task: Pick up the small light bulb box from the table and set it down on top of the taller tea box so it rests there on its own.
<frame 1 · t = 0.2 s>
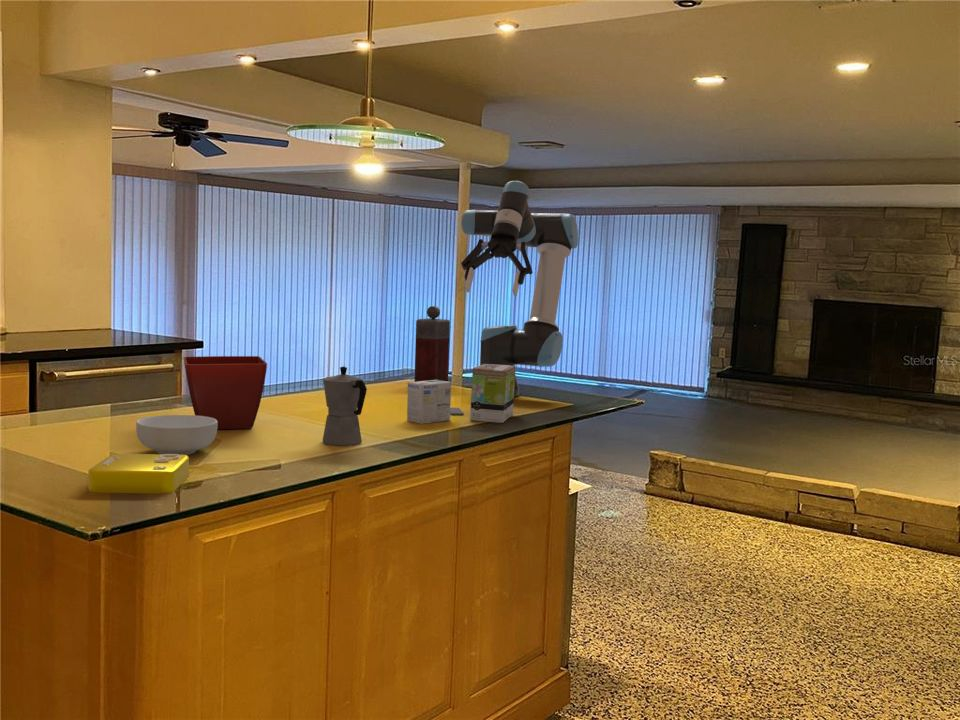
hand: (490, 291, 241), 36 cm above the table, tool tilted 35°, fingers open, 13 cm apart
coffeepot: (344, 444, 207), on the table
tea box: (492, 418, 249), on the table
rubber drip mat: (437, 411, 255), on the table
light bulb box: (428, 421, 241), on the table
plant pot: (224, 426, 223), on the table
cereal bowl: (177, 453, 191), on the table
element tile: (140, 486, 164), on the table
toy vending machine: (432, 385, 313), on the table
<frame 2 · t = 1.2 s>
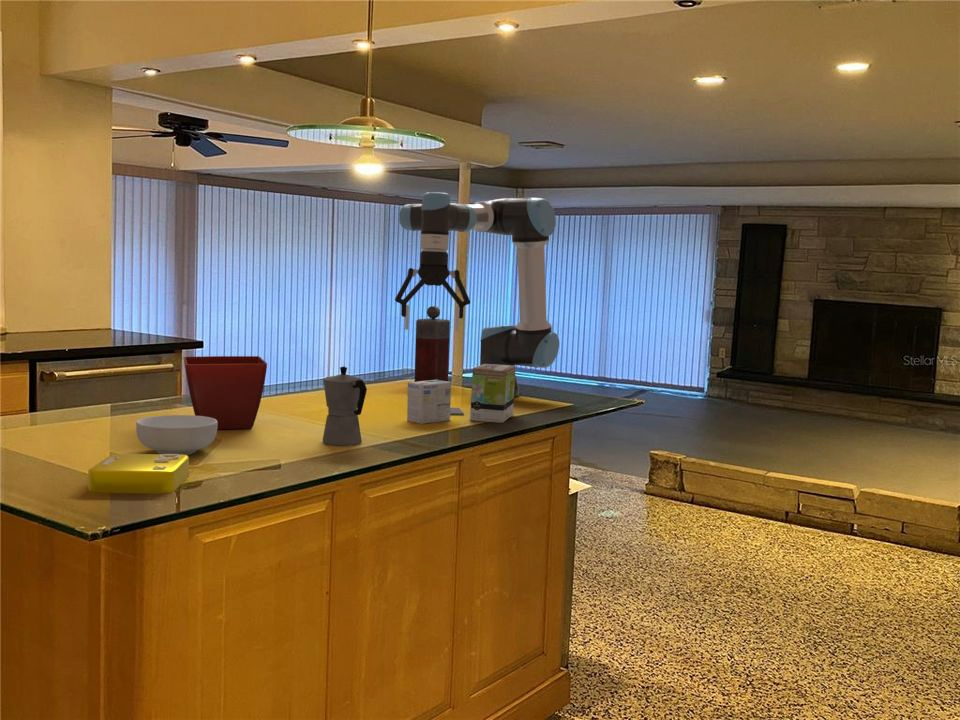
hand: (431, 330, 238), 25 cm above the table, tool pointing down, fingers open, 13 cm apart
nothing on the table moved.
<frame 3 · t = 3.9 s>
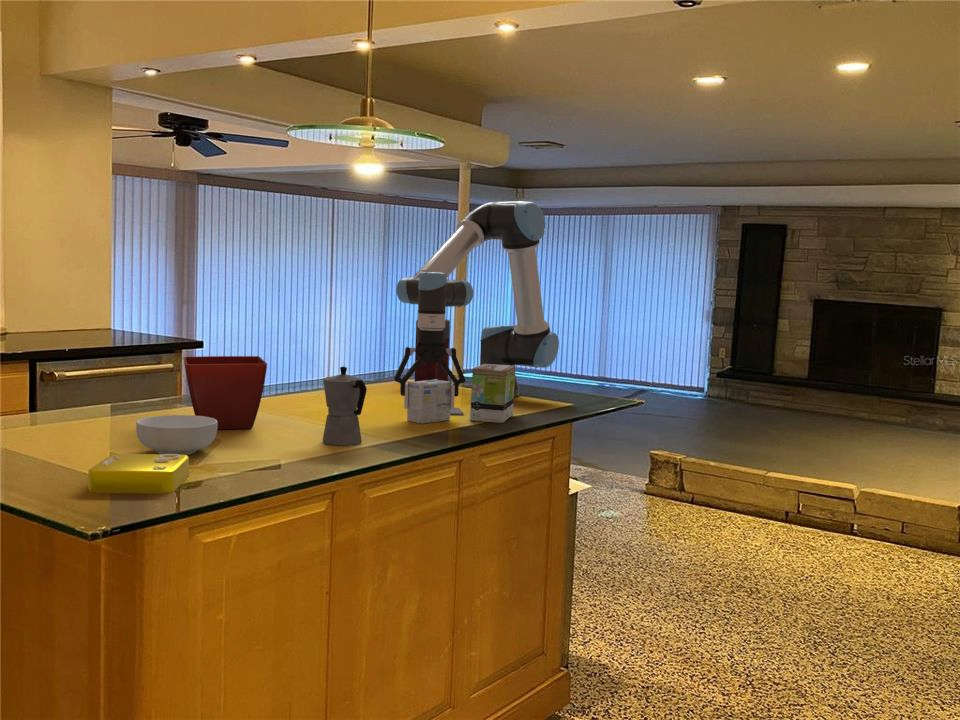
hand: (428, 408, 241), 3 cm above the table, tool pointing down, fingers closed on light bulb box, 12 cm apart
light bulb box: (428, 421, 241), on the table, touching gripper
everything else where it was.
when the fingers open (20 cm above the table, at t = 12.8 s): light bulb box drops 2 cm, resting on tea box.
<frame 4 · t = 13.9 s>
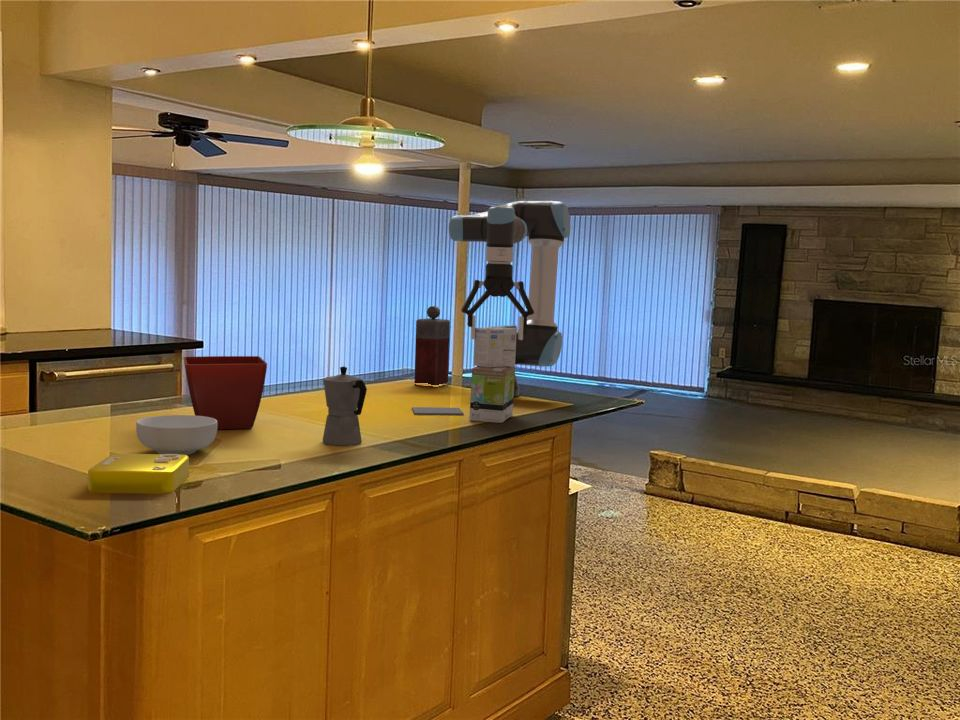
hand: (496, 339, 247), 22 cm above the table, tool pointing down, fingers open, 13 cm apart
tea box: (491, 418, 248), on the table, touching light bulb box
light bulb box: (494, 366, 247), point 15 cm above the table, touching tea box
everything else where it was.
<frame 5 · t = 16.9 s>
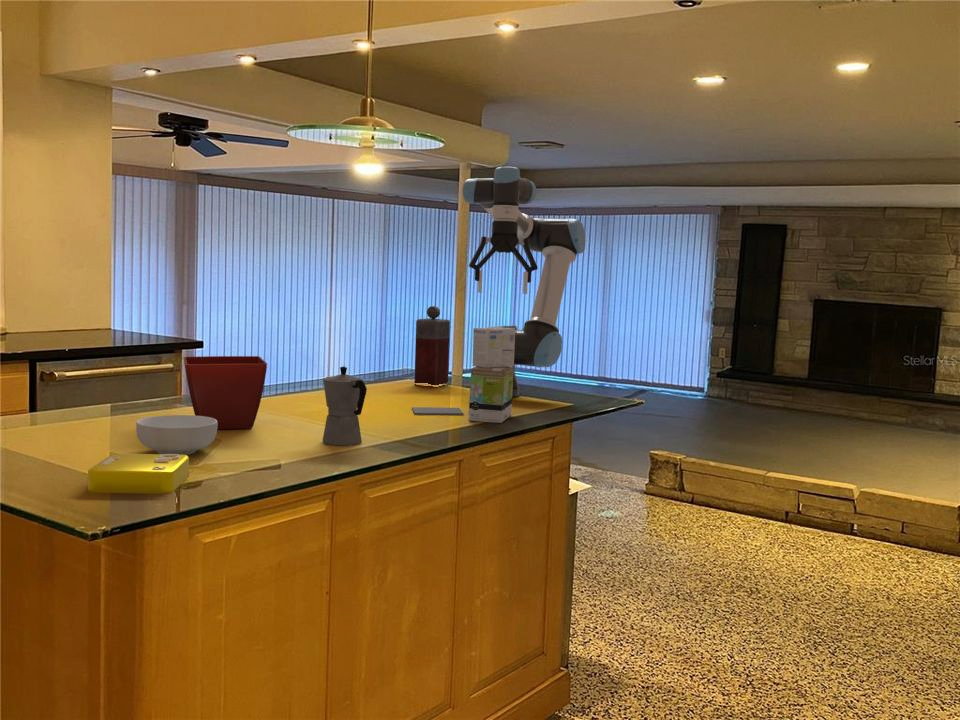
hand: (502, 293, 261), 35 cm above the table, tool pointing down, fingers open, 13 cm apart
nothing on the table moved.
at the end: light bulb box inside the target area on the tea box (0.4 cm from its centre), point 14.8 cm above the tea box's base; light bulb box tilted 0°; the gripper is holding nothing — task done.
